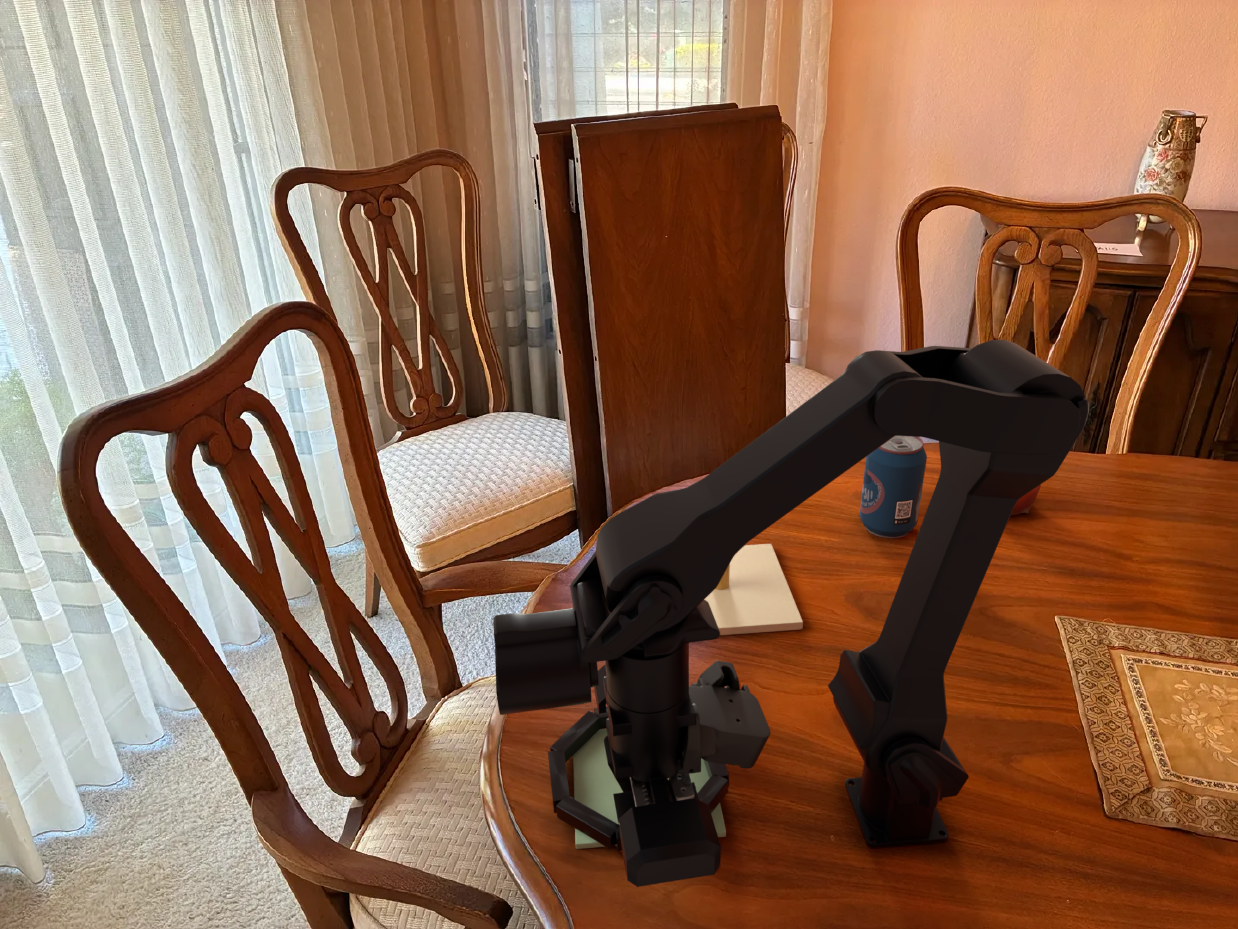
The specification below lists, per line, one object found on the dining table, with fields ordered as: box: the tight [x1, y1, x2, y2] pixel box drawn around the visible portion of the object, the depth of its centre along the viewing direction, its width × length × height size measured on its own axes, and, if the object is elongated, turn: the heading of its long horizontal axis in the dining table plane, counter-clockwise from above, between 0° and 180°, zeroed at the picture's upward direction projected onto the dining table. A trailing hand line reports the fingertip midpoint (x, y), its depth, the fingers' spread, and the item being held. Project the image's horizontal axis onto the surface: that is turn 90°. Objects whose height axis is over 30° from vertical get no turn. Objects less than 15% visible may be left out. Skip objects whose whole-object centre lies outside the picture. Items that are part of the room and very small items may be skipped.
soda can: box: [859, 436, 928, 539], centre depth 104 cm, size 7×7×12 cm
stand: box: [704, 543, 804, 636], centre depth 95 cm, size 15×15×7 cm
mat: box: [572, 729, 727, 850], centre depth 73 cm, size 12×12×1 cm
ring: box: [547, 705, 730, 852], centre depth 72 cm, size 15×15×1 cm
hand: (652, 836), depth 67 cm, fingers closed on ring, 1 cm apart
